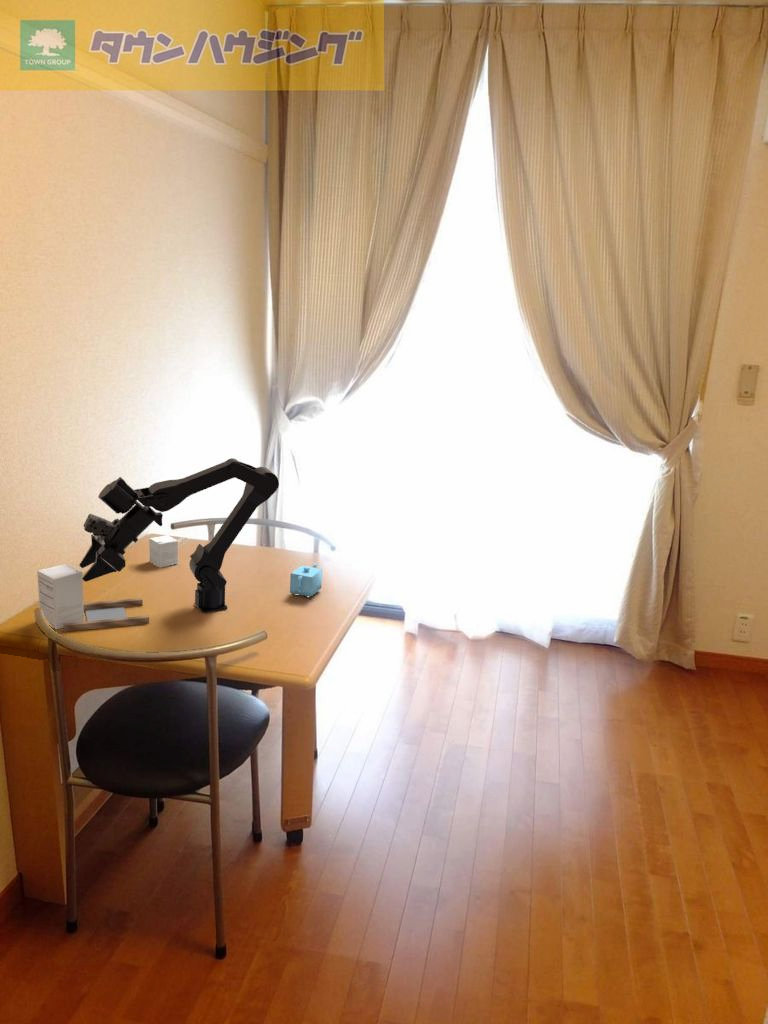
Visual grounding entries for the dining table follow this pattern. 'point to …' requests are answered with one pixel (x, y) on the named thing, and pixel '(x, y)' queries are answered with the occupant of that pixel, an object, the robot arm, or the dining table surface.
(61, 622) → the supplement box
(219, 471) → the robot arm
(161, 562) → the skincare box
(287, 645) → the dining table surface
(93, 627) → the guide rails
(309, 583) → the pale blue boxy block
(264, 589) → the dining table surface
